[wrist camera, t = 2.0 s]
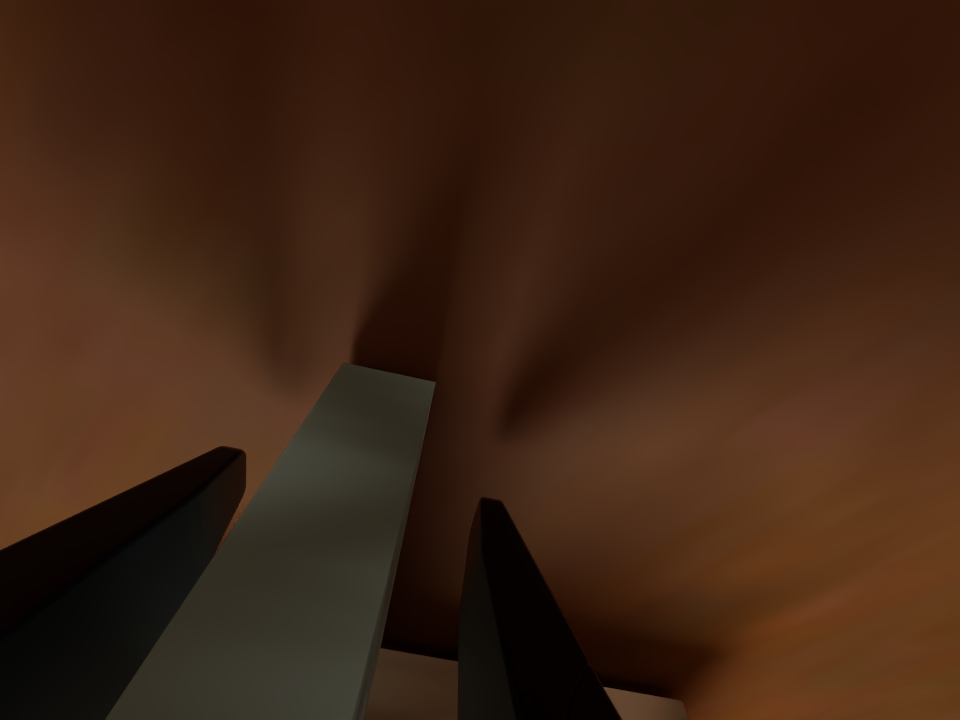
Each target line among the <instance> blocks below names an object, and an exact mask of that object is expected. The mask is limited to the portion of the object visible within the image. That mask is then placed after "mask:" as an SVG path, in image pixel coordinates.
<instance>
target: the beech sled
mask: <svg viewBox="0 0 960 720" xmlns="http://www.w3.org/2000/svg"><path fill="white" fill-rule="evenodd" d="M435 383H436V382H432V381H428V380H423V379H418V378H414V377H409V376H404V375H399V374H395V373H390V372H385V371H381V370H376V369H371V368H366V367H362V366H357V365H352V364H348V363H343V364H342V365H341V367H340V368H339V370H338V371H337V373H336V374H335V376H334V377H333V379H332V380H331V382H330V383H329V385H328V386H327V388H326V389H325V391H324V392H323V394H322V395H321V397H320V398H319V400H318V401H317V403H316V404H315V406H314V407H313V409H312V410H311V412H310V413H309V415H308V416H307V418H306V419H305V421H304V422H303V424H302V425H301V427H300V428H299V430H298V431H297V433H296V434H295V436H294V437H293V439H292V440H291V442H290V443H289V445H288V446H287V448H286V449H285V451H284V452H283V454H282V455H281V457H280V458H279V460H278V461H277V463H276V464H275V466H274V467H273V469H272V470H271V472H270V473H269V475H268V476H267V478H266V479H265V481H264V482H263V484H262V485H261V487H260V488H259V490H258V491H257V493H256V494H255V496H254V497H253V499H252V500H251V502H250V503H249V505H248V506H247V508H246V509H245V511H244V512H243V514H242V515H241V517H240V518H239V520H238V521H237V523H236V524H235V526H234V527H233V529H232V530H231V532H230V533H229V534H228V536H227V537H226V539H225V540H224V542H223V543H222V545H221V546H220V548H219V549H218V551H217V552H216V554H215V555H214V557H213V558H212V560H211V561H210V563H209V564H208V566H207V567H206V569H205V570H204V572H203V573H202V575H201V576H200V578H199V579H198V581H197V582H196V584H195V585H194V587H193V588H192V590H191V591H190V593H189V594H188V596H187V597H186V599H185V600H184V602H183V603H182V605H181V606H180V608H179V609H178V611H177V612H176V614H175V615H174V617H173V618H172V620H171V621H170V623H169V624H168V626H167V627H166V629H165V630H164V632H163V633H162V635H161V636H160V638H159V639H158V641H157V642H156V644H155V645H154V647H153V648H152V650H151V651H150V653H149V654H148V656H147V657H146V659H145V660H144V662H143V663H142V665H141V666H140V668H139V669H138V671H137V672H136V674H135V675H134V677H133V678H132V680H131V681H130V683H129V684H128V686H127V687H126V689H125V690H124V692H123V693H122V695H121V696H120V698H119V699H118V701H117V702H116V704H115V705H114V707H113V708H112V710H111V711H110V713H109V714H108V716H107V717H106V719H105V720H457V717H458V662H457V661H451V660H445V659H440V658H434V657H428V656H422V655H417V654H411V653H405V652H399V651H394V650H388V649H382V648H381V643H382V638H383V633H384V628H385V624H386V619H387V614H388V609H389V604H390V600H391V595H392V590H393V585H394V580H395V576H396V571H397V566H398V561H399V556H400V552H401V547H402V542H403V537H404V532H405V527H406V523H407V518H408V513H409V508H410V503H411V499H412V494H413V489H414V484H415V479H416V475H417V470H418V465H419V460H420V455H421V451H422V446H423V441H424V436H425V431H426V427H427V422H428V417H429V412H430V407H431V403H432V398H433V393H434V388H435ZM604 689H605V691H606V692H607V694H608V696H609V698H610V699H611V701H612V703H613V704H614V706H615V708H616V710H617V711H618V713H619V715H620V717H621V718H622V720H688V716H687V713H686V710H685V707H684V704H683V701H681V700H676V699H670V698H664V697H658V696H653V695H647V694H641V693H635V692H630V691H624V690H618V689H612V688H607V687H604Z"/></svg>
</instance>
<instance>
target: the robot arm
mask: <svg viewBox="0 0 960 720" xmlns="http://www.w3.org/2000/svg"><path fill="white" fill-rule="evenodd" d="M245 488H246V454H245V452H244V451H243V450H241V449H237V448H232V447H227V446H220V447H218V448H215V449H213V450H211V451H209V452H207V453H205V454H203V455H200V456H198V457H196V458H194V459H192V460H190V461H188V462H186V463H184V464H181V465H179V466H177V467H175V468H173V469H171V470H169V471H167V472H165V473H162V474H160V475H158V476H156V477H154V478H152V479H150V480H148V481H146V482H143V483H141V484H139V485H137V486H135V487H133V488H131V489H129V490H126V491H124V492H122V493H120V494H118V495H116V496H114V497H112V498H110V499H107V500H105V501H103V502H101V503H99V504H97V505H95V506H93V507H91V508H88V509H86V510H84V511H82V512H80V513H78V514H76V515H74V516H72V517H69V518H67V519H65V520H63V521H61V522H59V523H57V524H55V525H52V526H50V527H48V528H46V529H44V530H42V531H40V532H38V533H36V534H33V535H31V536H29V537H27V538H25V539H23V540H21V541H19V542H17V543H14V544H12V545H10V546H8V547H6V548H4V549H2V550H0V720H105V719H106V717H107V716H108V714H109V713H110V711H111V710H112V708H113V707H114V705H115V704H116V702H117V701H118V699H119V698H120V696H121V695H122V693H123V692H124V690H125V689H126V687H127V686H128V684H129V683H130V681H131V680H132V678H133V677H134V675H135V674H136V672H137V671H138V669H139V668H140V666H141V665H142V663H143V662H144V660H145V659H146V657H147V656H148V654H149V653H150V651H151V650H152V648H153V647H154V645H155V644H156V642H157V641H158V639H159V638H160V636H161V635H162V633H163V632H164V630H165V629H166V627H167V626H168V624H169V623H170V621H171V620H172V618H173V617H174V615H175V614H176V612H177V611H178V609H179V608H180V606H181V605H182V603H183V602H184V600H185V599H186V597H187V596H188V594H189V593H190V591H191V590H192V588H193V587H194V585H195V584H196V582H197V581H198V579H199V578H200V576H201V575H202V573H203V572H204V570H205V569H206V567H207V566H208V564H209V563H210V561H211V559H212V557H213V555H214V553H215V551H216V549H217V547H218V545H219V543H220V541H221V539H222V537H223V535H224V533H225V531H226V529H227V527H228V525H229V523H230V521H231V519H232V517H233V515H234V513H235V511H236V509H237V507H238V505H239V503H240V501H241V499H242V497H243V495H244V492H245ZM457 720H622V718H621V717H620V715H619V713H618V711H617V710H616V708H615V706H614V704H613V703H612V701H611V699H610V698H609V696H608V694H607V692H606V691H605V689H604V687H603V685H602V683H601V682H600V680H599V678H598V676H597V674H596V672H595V670H594V669H593V667H592V666H589V660H588V658H587V656H586V654H585V652H584V651H583V649H582V647H581V645H580V643H579V641H578V640H577V638H576V636H575V634H574V632H573V630H572V629H571V627H570V625H569V623H568V621H567V619H566V618H565V616H564V614H563V612H562V610H561V608H560V607H559V605H558V603H557V601H556V599H555V597H554V596H553V594H552V592H551V590H550V588H549V586H548V585H547V583H546V581H545V579H544V577H543V575H542V574H541V572H540V570H539V568H538V566H537V564H536V563H535V561H534V559H533V557H532V555H531V553H530V551H529V550H528V548H527V546H526V544H525V542H524V540H523V539H522V537H521V535H520V533H519V531H518V529H517V528H516V526H515V524H514V522H513V520H512V518H511V517H510V515H509V513H508V511H507V509H506V507H505V506H504V504H503V502H501V501H500V500H496V499H491V498H486V497H482V498H481V499H480V500H479V503H478V506H477V509H476V513H475V516H474V520H473V523H472V527H471V530H470V535H469V542H468V549H467V557H466V565H465V573H464V581H463V589H462V597H461V604H460V615H459V633H458V717H457Z"/></svg>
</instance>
